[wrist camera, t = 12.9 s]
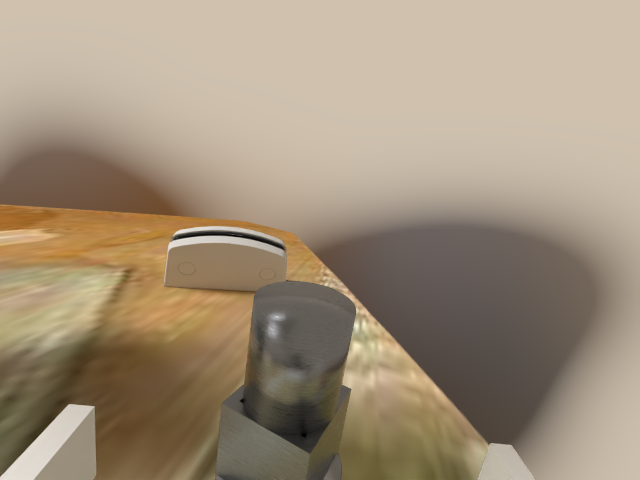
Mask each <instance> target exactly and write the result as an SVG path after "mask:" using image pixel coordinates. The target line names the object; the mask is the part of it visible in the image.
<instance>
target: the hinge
mask: <svg viewBox="0 0 640 480" xmlns="http://www.w3.org/2000/svg"><path fill="white" fill-rule="evenodd" d="M286 268H287V254H286V247H285V245H284V242H283V241H282V240H280V239H277V238H275V237H272V236H270V235H267V234H264V233H261V232H257V231H253V230H248V229H242V228H235V227H221V226H210V227H197V228H189V229H184V230H179V231H177V232H176V233H175V234H174V236H173V237H172V238H171V242H170V244H169V246H168V254H167V262H166V270H165V278H164V286H167V287H185V288H203V289H221V290H239V291H258V290H259V289H260V288H262V287H263V286H266V285H268V284H272V283H276V282H283V281H286Z"/></svg>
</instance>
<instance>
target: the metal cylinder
mask: <svg viewBox="0 0 640 480" xmlns="http://www.w3.org/2000/svg"><path fill="white" fill-rule="evenodd" d="M355 316H356V307H355V305H354V304H353V302H352V301H351V300H350V299H349V298H348V297H346V296H345V295H343V294H342V293H340V292H338V291H336V290H334V289H332V288H329V287H326V286H323V285H319V284H314V283H309V282H301V281H283V282H276V283H272V284H268V285H266V286H263V287H262V288H260V289H259V290H258V291H257V292H256V293H255V295H254V301H253V310H252V319H251V328H250V337H249V346H248V355H247V364H246V373H245V382H244V385H243V386H241V387H240V388H239V389H238V390H237V391H236V392H234V393H233V394H232V395H231V396H230V397H228V398H227V399H226V400H225V401H224V402H223V403H222V407H221V418H220V429H219V439H218V450H217V461H216V472H215V474H216V475H218V476H219V477H221V478H222V479H223V480H323V479H324V477H325V475H326V473H327V472H328V470H329V468H330V466H331V464H332V462H333V460H334V458H335V457H336V455H337V453H338V450H339V445H340V440H341V435H342V431H343V426H344V421H345V416H346V412H347V407H348V402H349V397H350V392H351V389H350V388H348V387H346V386H343V385H342V381H343V376H344V371H345V366H346V361H347V356H348V351H349V346H350V341H351V336H352V331H353V326H354V321H355ZM303 434H307V435H306V437H305V438H304V437H302V436H301V435H303Z"/></svg>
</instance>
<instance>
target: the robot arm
mask: <svg viewBox="0 0 640 480" xmlns="http://www.w3.org/2000/svg"><path fill="white" fill-rule="evenodd" d="M95 476H96V440H95V406H85V405H74V404H69V405H68V406H67V407H66V408H65V409H64V410H63V411H62V412H61V413H60V414H59V415H58V416H57V417H56V418H55V420H54V421H53V422H52V423H51V424H50V425H49V426H48V427H47V428H46V429H45V430H44V431H43V432H42V433H41V434H40V435H39V437H38V438H37V439H36V440H35V441H34V442H33V443H32V444H31V445H30V446H29V447H28V448H27V449H26V450H25V451H24V452H23V454H22V455H21V456H20V457H19V458H18V459H17V460H16V461H15V462H14V463H13V464H12V465H11V466H10V467H9V468H8V469H7V471H6V472H5V473H4V474H3V475H2V476H1V477H0V480H93V479H94V477H95ZM478 480H535V479H534V477H533V476H532V474H531V473H530V471H529V470H528V468H527V467H526V466H525V464H524V463H523V461H522V460H521V458H520V457H519V455H518V454H517V453H516V451H515V450H514V448H513V447H512V446H511V445H505V444H494V443H490V445H489V448H488V451H487V454H486V457H485V460H484V463H483V465H482V468H481V471H480V474H479V477H478Z"/></svg>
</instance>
